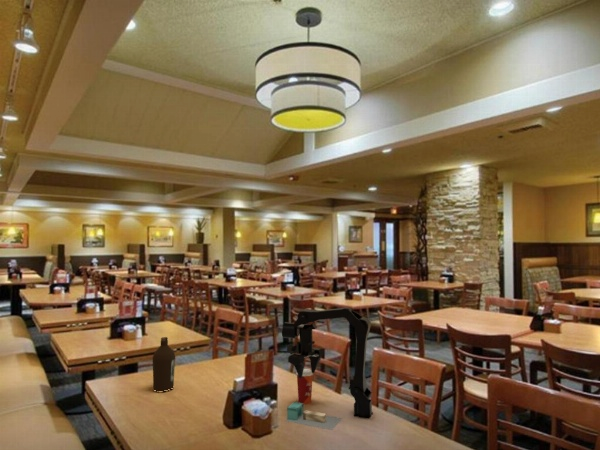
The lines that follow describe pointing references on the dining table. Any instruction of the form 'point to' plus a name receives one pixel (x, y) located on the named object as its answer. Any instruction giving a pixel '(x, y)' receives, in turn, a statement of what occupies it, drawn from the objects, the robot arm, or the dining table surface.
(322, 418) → the long wooden beam
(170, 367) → the olive oil
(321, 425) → the mat
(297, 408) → the teal faceted block
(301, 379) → the paper cup
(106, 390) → the dining table surface
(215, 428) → the dining table surface
